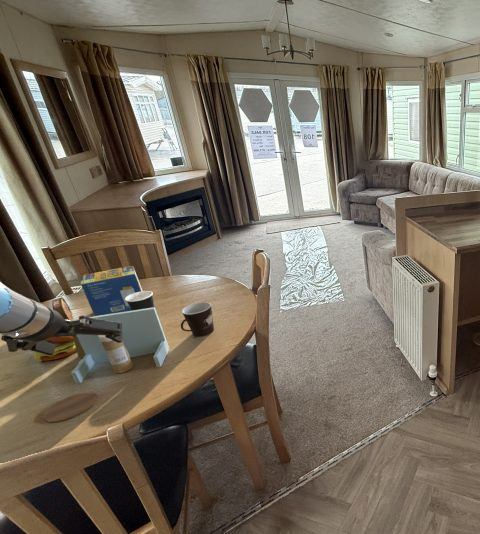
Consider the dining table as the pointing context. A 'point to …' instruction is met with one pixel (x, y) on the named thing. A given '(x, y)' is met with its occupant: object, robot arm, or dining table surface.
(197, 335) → the coffee mug
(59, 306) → the tin
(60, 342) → the cheeseburger
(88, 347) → the light blue standing panel
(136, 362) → the dining table surface
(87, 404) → the coaster
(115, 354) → the sprinkles bottle
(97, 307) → the protein box
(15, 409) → the dining table surface
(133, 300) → the dixie cup
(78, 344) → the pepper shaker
